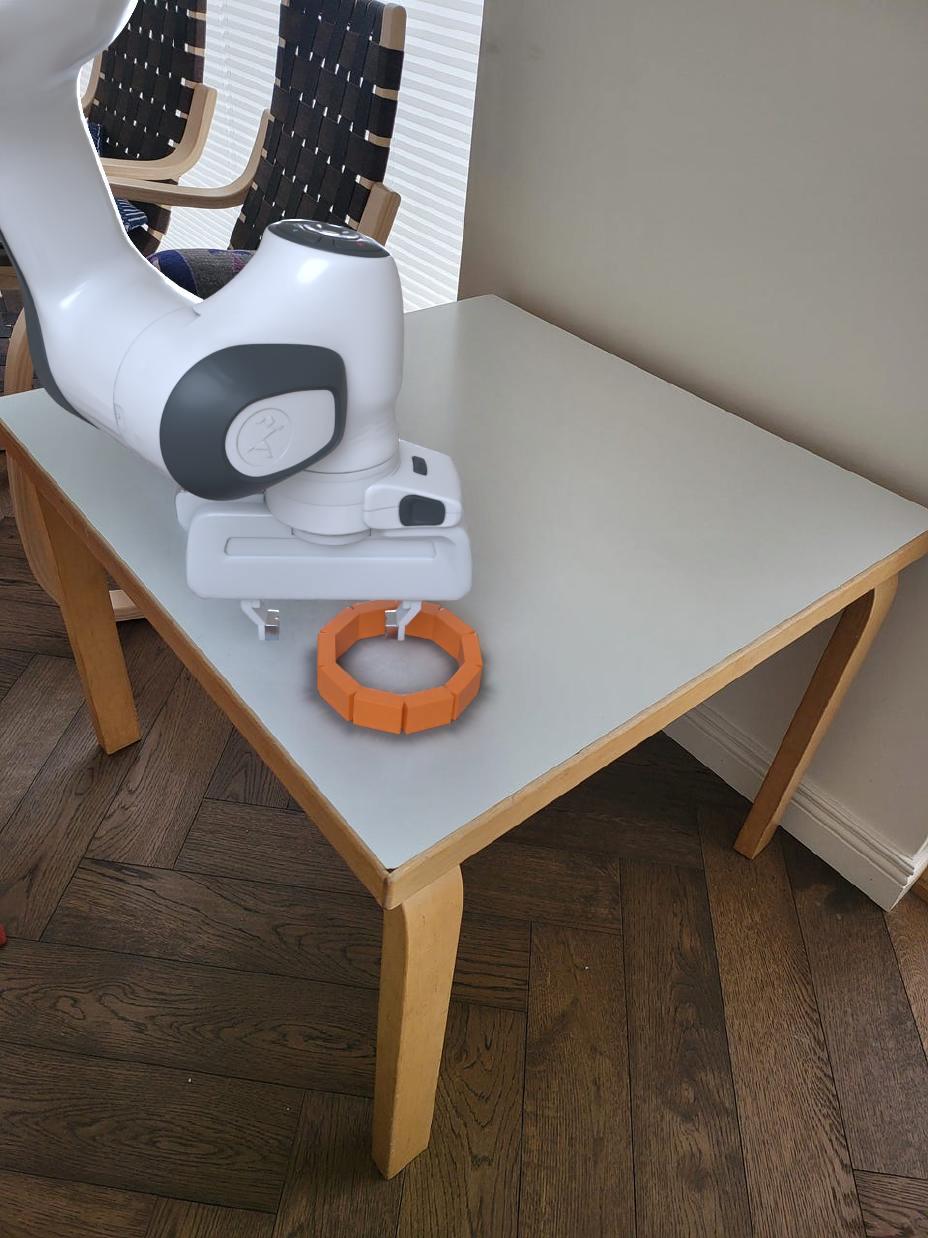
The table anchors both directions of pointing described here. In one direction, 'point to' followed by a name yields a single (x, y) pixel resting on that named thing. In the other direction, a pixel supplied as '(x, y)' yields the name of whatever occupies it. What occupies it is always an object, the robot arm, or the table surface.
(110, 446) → the table surface
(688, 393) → the table surface
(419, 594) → the robot arm
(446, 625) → the ring
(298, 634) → the table surface
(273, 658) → the table surface
